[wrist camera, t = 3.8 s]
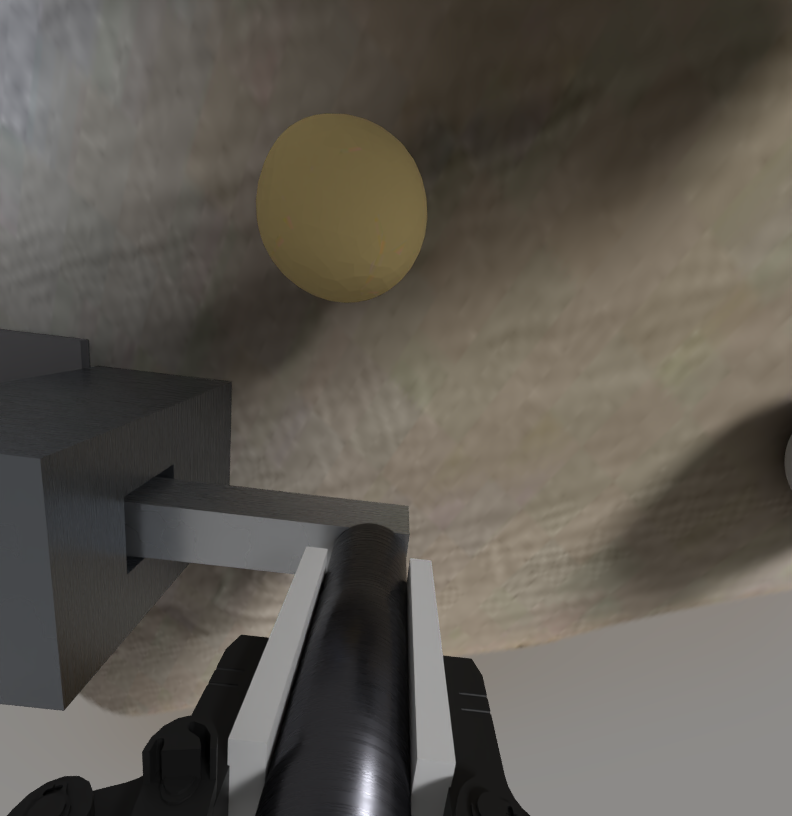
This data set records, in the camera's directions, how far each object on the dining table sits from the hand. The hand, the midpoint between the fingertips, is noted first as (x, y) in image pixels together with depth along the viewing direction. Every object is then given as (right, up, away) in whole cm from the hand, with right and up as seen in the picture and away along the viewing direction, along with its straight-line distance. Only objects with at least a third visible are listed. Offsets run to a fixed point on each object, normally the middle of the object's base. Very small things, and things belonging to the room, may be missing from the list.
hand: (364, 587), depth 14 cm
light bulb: (-1, +15, +8) cm, 17 cm away
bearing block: (-13, +4, +11) cm, 17 cm away
